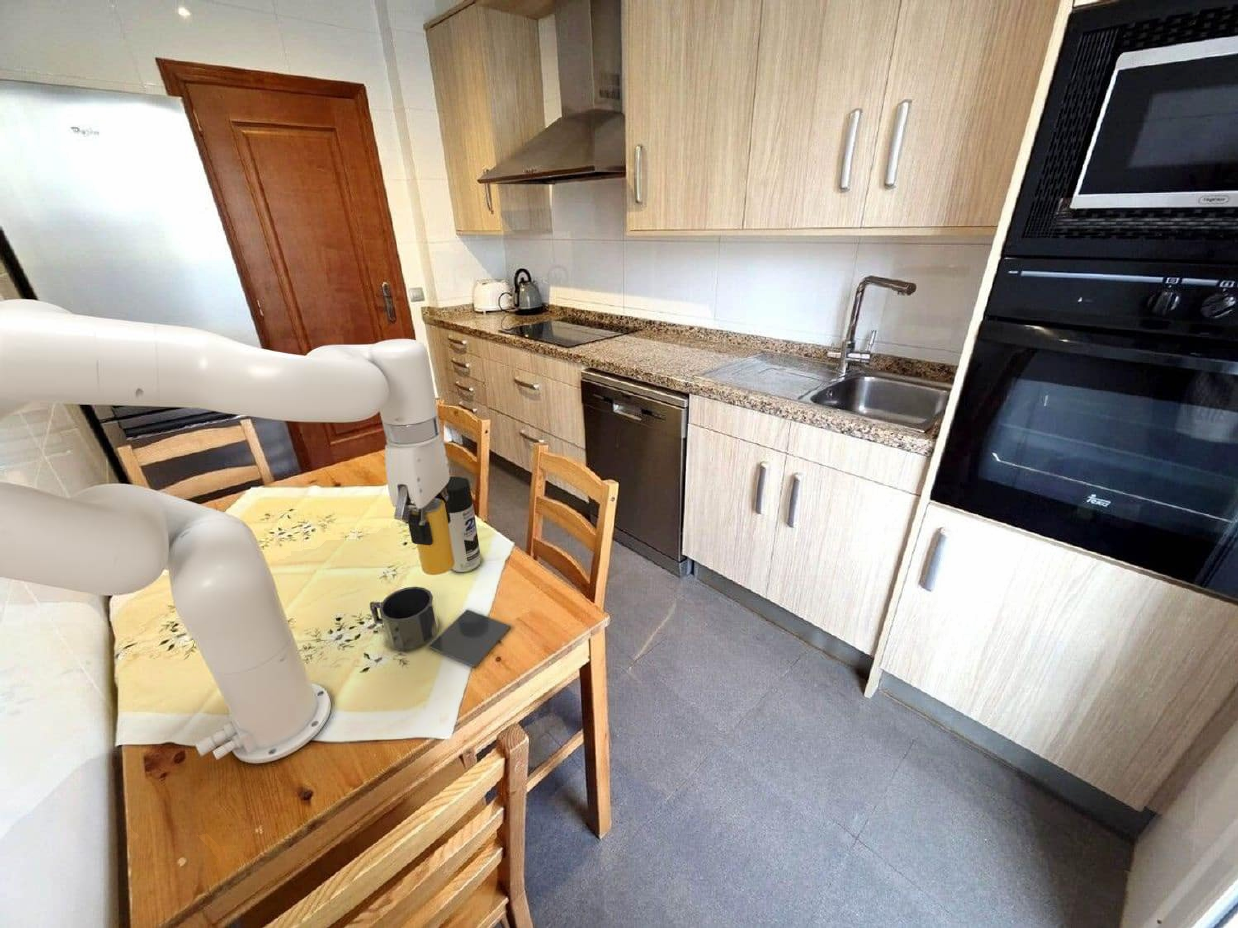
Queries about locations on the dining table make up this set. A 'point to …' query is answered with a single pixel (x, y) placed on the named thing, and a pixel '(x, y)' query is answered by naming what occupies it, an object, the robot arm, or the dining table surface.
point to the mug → (407, 618)
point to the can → (436, 540)
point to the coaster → (470, 638)
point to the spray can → (462, 525)
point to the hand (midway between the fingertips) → (432, 531)
